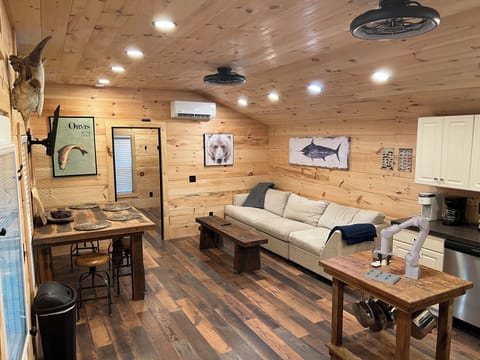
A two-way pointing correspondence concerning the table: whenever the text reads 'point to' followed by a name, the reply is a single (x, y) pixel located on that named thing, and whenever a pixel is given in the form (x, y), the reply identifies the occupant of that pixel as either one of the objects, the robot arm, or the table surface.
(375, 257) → the food container
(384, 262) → the egg
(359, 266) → the table surface
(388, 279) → the grey compartment tray
